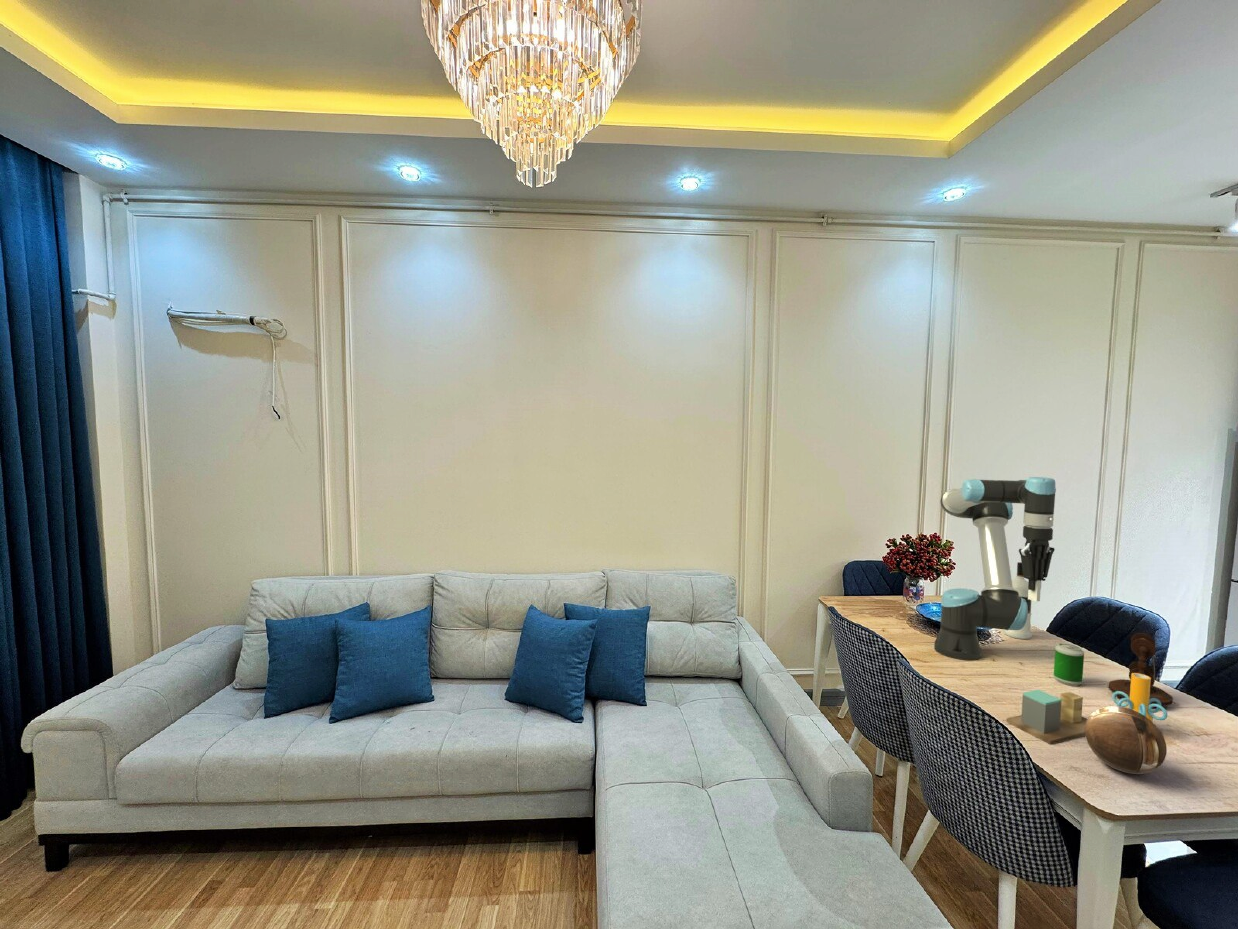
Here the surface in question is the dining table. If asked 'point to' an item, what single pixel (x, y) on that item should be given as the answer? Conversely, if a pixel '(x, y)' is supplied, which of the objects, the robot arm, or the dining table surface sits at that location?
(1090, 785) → the dining table surface
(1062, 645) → the soda can
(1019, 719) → the walnut board
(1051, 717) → the grey teal-topped block
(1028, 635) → the vodka
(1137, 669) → the turned wooden candlestick
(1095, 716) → the bronze metallic ball
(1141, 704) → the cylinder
